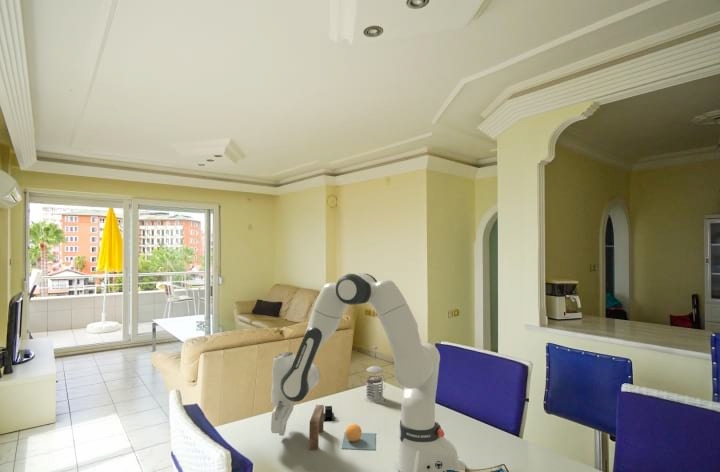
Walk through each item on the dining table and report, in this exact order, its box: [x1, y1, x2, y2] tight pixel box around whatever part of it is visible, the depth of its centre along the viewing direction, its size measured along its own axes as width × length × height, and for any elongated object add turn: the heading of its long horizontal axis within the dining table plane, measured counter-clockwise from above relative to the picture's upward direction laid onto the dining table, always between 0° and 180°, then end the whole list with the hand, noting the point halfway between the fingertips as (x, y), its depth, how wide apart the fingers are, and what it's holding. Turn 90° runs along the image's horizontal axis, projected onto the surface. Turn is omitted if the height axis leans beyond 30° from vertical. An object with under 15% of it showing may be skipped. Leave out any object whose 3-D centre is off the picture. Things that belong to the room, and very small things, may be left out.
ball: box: [345, 423, 363, 442], centre depth 142 cm, size 6×6×6 cm
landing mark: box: [341, 431, 376, 451], centre depth 142 cm, size 12×12×1 cm
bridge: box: [308, 404, 325, 451], centre depth 143 cm, size 3×15×10 cm, turn 178°
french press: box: [363, 345, 386, 404], centre depth 182 cm, size 10×12×25 cm
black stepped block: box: [324, 405, 336, 422], centre depth 162 cm, size 12×7×5 cm, turn 7°
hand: (282, 433), depth 143 cm, fingers closed
